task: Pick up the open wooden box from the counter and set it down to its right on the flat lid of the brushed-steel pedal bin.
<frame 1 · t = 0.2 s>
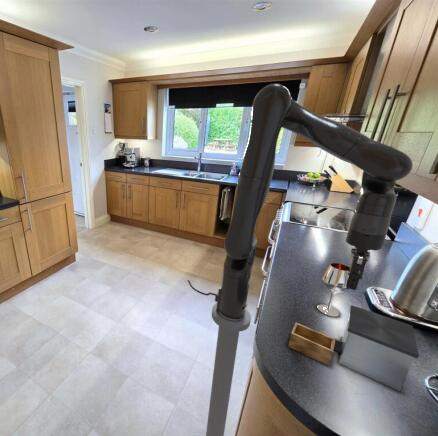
hand: (351, 282, 69), 21 cm above the worktop, tool pointing down, fingers open, 8 cm apart
open wooden box: (309, 349, 72), on the worktop
wineglass: (328, 311, 88), on the worktop
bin: (367, 361, 68), on the worktop
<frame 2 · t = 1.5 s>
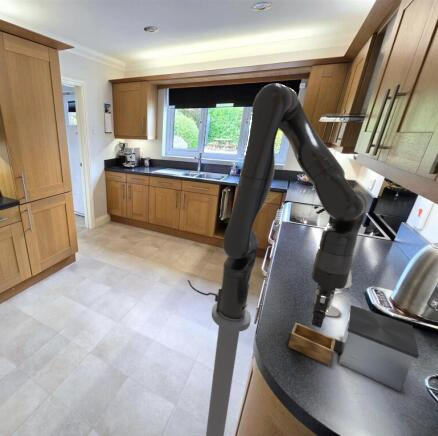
hand: (318, 317, 68), 11 cm above the worktop, tool pointing down, fingers open, 8 cm apart
nothing on the worktop moved.
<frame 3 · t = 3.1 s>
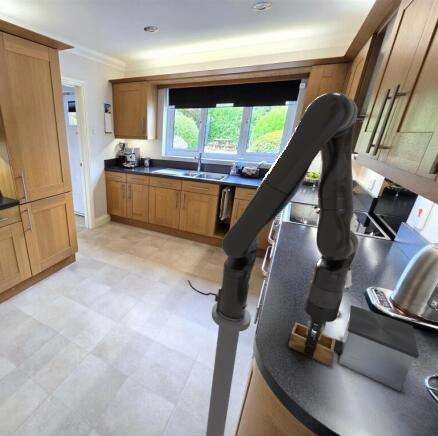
hand: (310, 347, 71), 1 cm above the worktop, tool pointing down, fingers closed on open wooden box, 6 cm apart
open wooden box: (309, 349, 72), on the worktop, touching gripper
everything else where it was.
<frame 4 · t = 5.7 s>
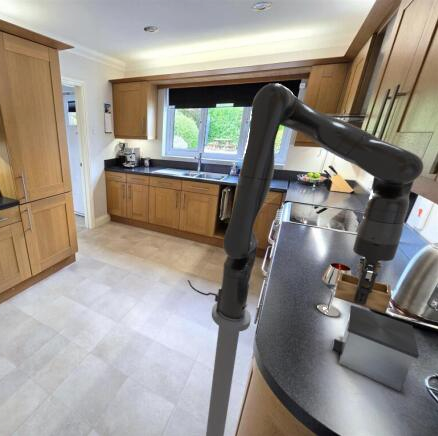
hand: (359, 296, 63), 20 cm above the worktop, tool pointing down, fingers closed on open wooden box, 6 cm apart
open wooden box: (358, 299, 63), point 19 cm above the worktop, touching gripper
everything else where it was.
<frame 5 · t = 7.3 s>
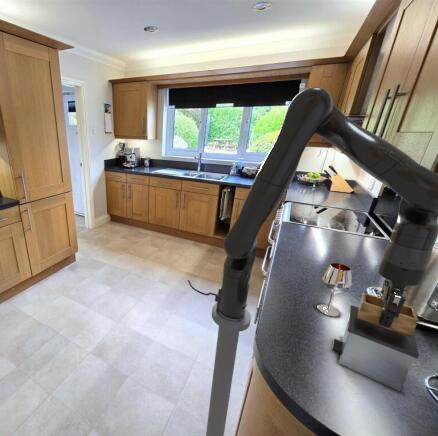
hand: (383, 318, 63), 15 cm above the worktop, tool pointing down, fingers closed on open wooden box, 6 cm apart
open wooden box: (382, 321, 64), point 14 cm above the worktop, touching gripper
everything else where it was.
when the fingers open (13 cm above the worktop, at t = 8.4 s): open wooden box stays where it is, resting on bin.
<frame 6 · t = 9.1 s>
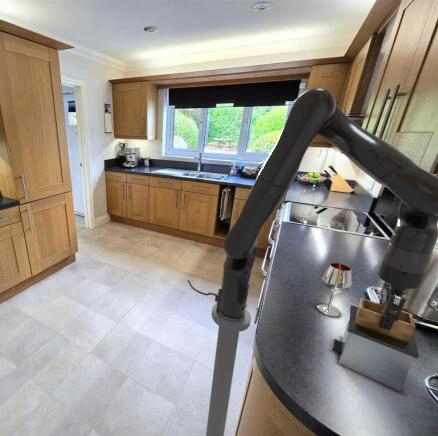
hand: (383, 319, 63), 14 cm above the worktop, tool pointing down, fingers open, 8 cm apart
open wooden box: (380, 326, 64), point 12 cm above the worktop, touching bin
everything else where it was.
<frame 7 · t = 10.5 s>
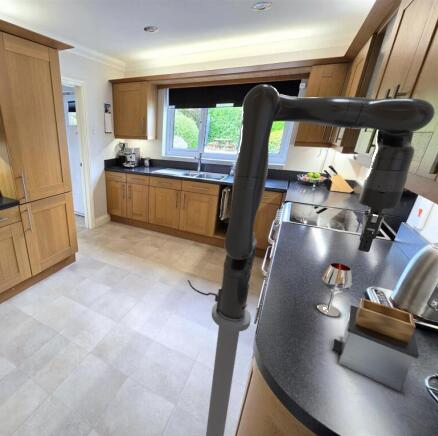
hand: (363, 246, 66), 32 cm above the worktop, tool pointing down, fingers open, 8 cm apart
nothing on the worktop moved.
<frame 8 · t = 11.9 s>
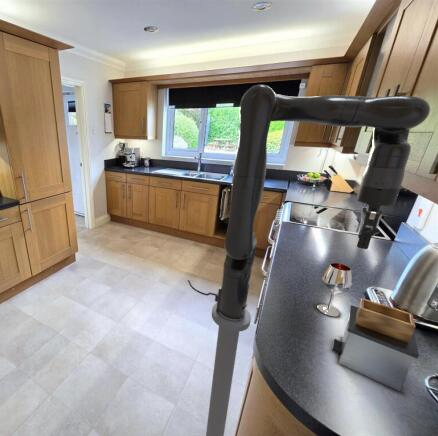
hand: (362, 243, 67), 32 cm above the worktop, tool pointing down, fingers open, 8 cm apart
nothing on the worktop moved.
at the end: open wooden box inside the target area on the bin (0.0 cm from its centre), point 12.0 cm above the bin's base; open wooden box tilted 0°; the gripper is holding nothing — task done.
